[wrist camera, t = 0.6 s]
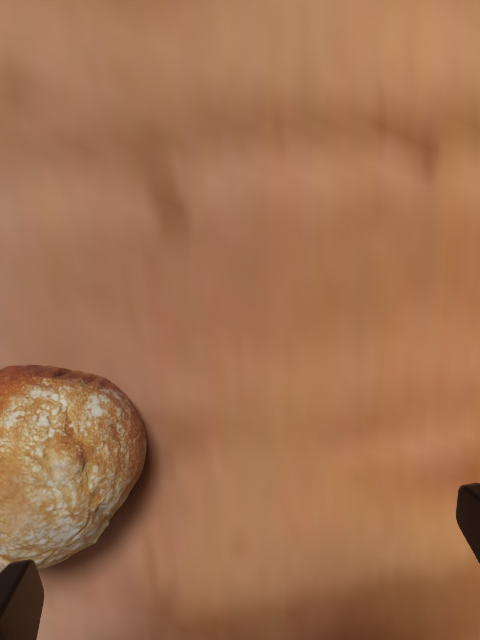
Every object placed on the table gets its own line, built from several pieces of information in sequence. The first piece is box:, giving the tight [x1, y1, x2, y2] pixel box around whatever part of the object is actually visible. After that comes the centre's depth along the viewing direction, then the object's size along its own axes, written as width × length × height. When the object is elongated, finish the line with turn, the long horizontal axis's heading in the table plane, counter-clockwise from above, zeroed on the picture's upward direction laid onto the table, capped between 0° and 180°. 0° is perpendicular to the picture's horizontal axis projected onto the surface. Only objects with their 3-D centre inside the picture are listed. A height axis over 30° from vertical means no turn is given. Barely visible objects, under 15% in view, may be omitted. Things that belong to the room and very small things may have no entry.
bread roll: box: [0, 365, 147, 572], centre depth 21 cm, size 10×10×8 cm
